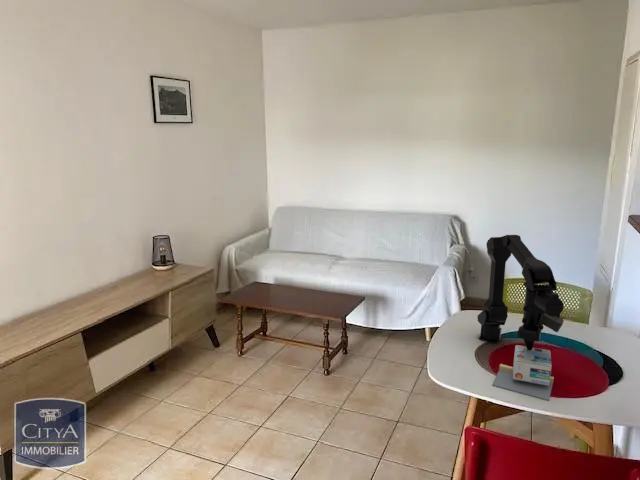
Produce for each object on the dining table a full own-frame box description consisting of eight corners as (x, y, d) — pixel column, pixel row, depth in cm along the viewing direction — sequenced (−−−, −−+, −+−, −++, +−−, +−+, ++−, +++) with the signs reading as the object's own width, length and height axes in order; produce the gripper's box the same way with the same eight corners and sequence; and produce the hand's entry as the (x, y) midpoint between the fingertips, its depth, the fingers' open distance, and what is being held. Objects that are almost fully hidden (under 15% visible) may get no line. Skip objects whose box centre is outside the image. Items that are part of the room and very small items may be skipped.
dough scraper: (492, 385, 146) (492, 380, 146) (499, 369, 156) (500, 363, 156) (548, 400, 138) (549, 395, 138) (553, 382, 148) (553, 376, 148)
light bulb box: (550, 349, 151) (552, 366, 141) (548, 368, 153) (550, 386, 143) (514, 344, 155) (514, 360, 145) (512, 362, 157) (512, 379, 147)
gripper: (560, 319, 136) (554, 368, 140) (565, 298, 152) (560, 342, 156) (519, 312, 142) (514, 359, 146) (528, 292, 157) (524, 335, 161)
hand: (529, 348), depth 152 cm, fingers closed, pressing on light bulb box
